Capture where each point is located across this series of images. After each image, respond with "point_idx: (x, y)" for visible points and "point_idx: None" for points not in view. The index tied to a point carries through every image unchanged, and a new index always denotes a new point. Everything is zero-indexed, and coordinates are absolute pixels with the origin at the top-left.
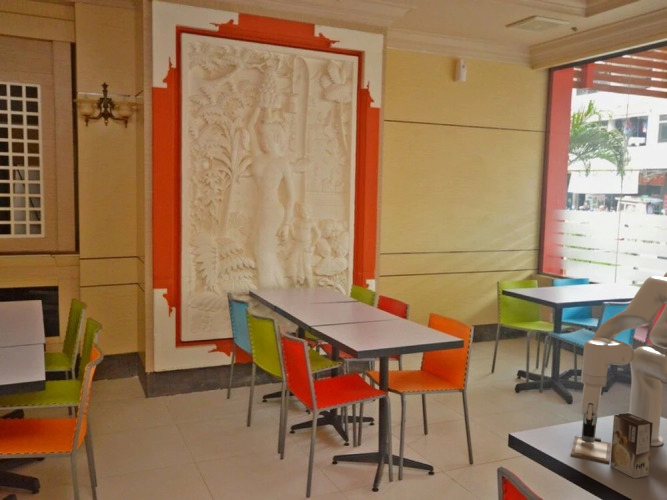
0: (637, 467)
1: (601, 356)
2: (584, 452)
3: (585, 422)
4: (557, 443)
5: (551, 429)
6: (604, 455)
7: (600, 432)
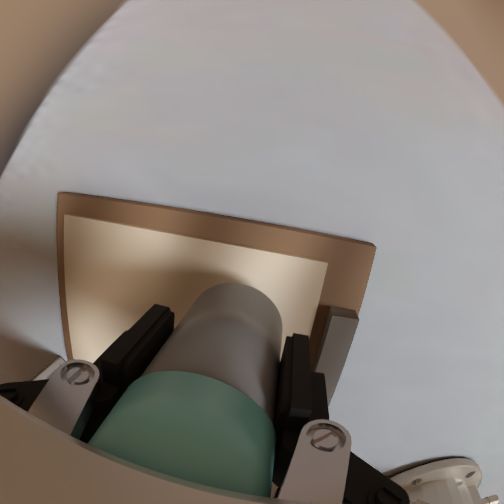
0: None
1: None
2: (83, 270)
3: (57, 375)
4: (221, 109)
5: (474, 103)
6: None
7: (483, 387)
